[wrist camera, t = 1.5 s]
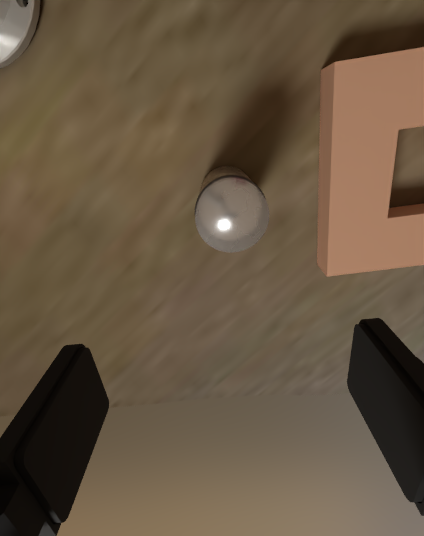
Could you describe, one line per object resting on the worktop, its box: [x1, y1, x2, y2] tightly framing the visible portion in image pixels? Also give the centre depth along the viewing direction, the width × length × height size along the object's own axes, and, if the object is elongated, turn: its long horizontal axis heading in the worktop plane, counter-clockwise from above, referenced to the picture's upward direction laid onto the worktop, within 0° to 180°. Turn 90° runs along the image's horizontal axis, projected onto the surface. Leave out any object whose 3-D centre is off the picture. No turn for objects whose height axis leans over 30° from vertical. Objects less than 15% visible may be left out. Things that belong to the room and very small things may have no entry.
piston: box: [195, 166, 269, 252], centre depth 24 cm, size 5×5×9 cm
